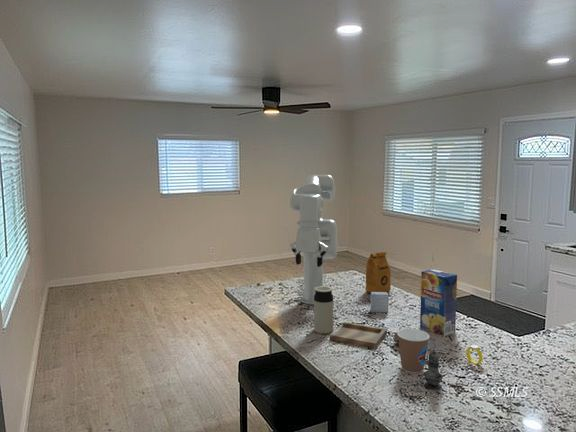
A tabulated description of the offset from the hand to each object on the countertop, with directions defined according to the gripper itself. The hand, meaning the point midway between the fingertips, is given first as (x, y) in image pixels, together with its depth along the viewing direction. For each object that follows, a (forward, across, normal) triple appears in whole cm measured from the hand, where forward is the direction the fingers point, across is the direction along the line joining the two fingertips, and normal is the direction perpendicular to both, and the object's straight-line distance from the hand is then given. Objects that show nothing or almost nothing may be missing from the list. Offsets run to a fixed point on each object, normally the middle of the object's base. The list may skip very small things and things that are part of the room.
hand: (308, 265), depth 179 cm
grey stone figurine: (+27, +56, -28) cm, 68 cm away
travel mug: (+27, +7, -1) cm, 28 cm away
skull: (+27, +42, +1) cm, 50 cm away
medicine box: (+27, +21, +33) cm, 47 cm away
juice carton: (+27, +49, +21) cm, 60 cm away
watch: (+27, +65, -5) cm, 71 cm away
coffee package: (+26, +12, +63) cm, 69 cm away
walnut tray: (+27, +22, -1) cm, 34 cm away
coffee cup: (+27, +47, -19) cm, 58 cm away
